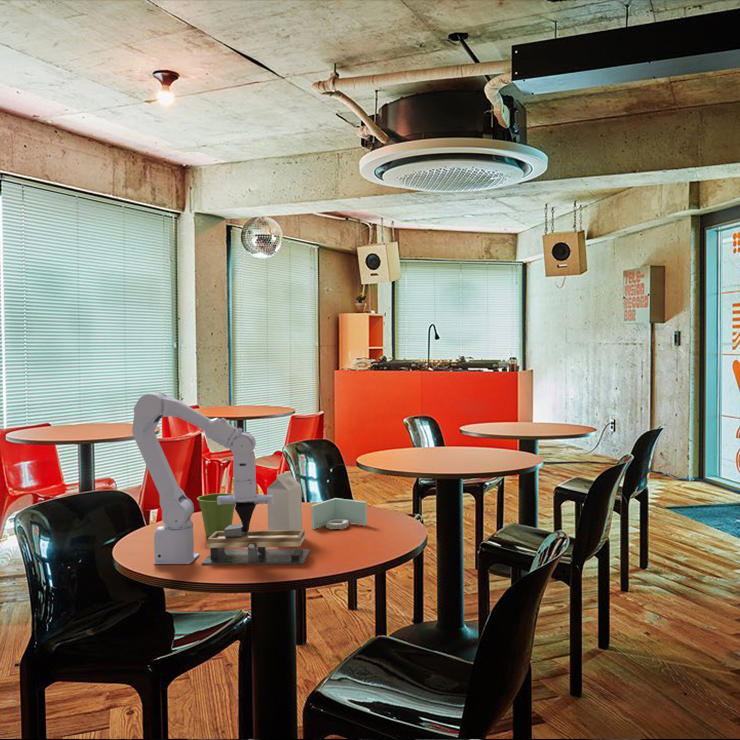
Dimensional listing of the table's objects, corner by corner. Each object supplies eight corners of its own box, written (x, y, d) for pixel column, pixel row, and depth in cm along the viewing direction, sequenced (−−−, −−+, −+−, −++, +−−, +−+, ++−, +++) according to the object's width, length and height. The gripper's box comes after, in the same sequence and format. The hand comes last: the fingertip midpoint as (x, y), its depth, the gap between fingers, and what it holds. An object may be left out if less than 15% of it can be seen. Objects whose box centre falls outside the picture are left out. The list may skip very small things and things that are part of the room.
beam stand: (200, 565, 173) (200, 544, 173) (215, 550, 185) (214, 531, 185) (302, 565, 171) (302, 543, 171) (310, 550, 184) (310, 530, 183)
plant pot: (231, 540, 196) (230, 501, 195) (191, 540, 197) (190, 501, 197) (244, 529, 207) (243, 492, 207) (206, 529, 209) (205, 492, 209)
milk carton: (268, 541, 194) (266, 474, 194) (281, 534, 201) (280, 470, 200) (289, 543, 191) (287, 475, 191) (302, 537, 198) (301, 471, 197)
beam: (207, 547, 175) (206, 539, 175) (216, 539, 183) (215, 531, 183) (300, 546, 173) (299, 537, 173) (305, 537, 181) (304, 529, 181)
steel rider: (225, 541, 176) (224, 529, 176) (230, 536, 181) (229, 524, 181) (242, 539, 176) (241, 527, 176) (247, 534, 181) (245, 523, 181)
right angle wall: (311, 530, 206) (311, 505, 206) (335, 521, 216) (335, 498, 216) (343, 535, 199) (343, 509, 199) (367, 526, 209) (366, 501, 209)
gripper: (212, 482, 174) (214, 535, 175) (268, 481, 173) (270, 534, 174) (220, 477, 181) (222, 528, 182) (274, 476, 180) (276, 527, 181)
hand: (246, 531), depth 178 cm, fingers closed
